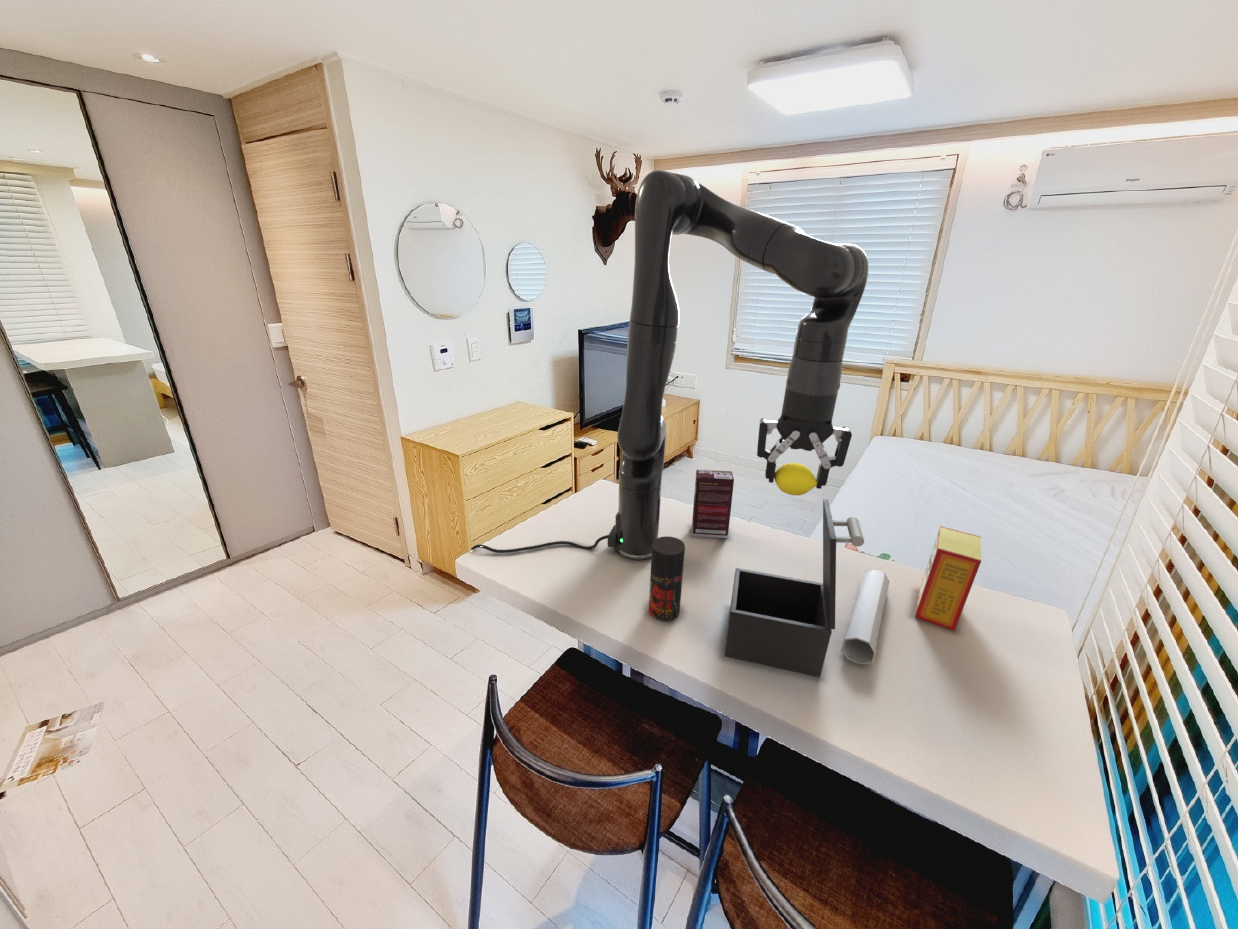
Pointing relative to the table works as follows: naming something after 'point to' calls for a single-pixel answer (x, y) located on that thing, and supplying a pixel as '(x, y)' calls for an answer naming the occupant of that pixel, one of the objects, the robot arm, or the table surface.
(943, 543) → the baking soda box
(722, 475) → the supplement box
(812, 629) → the dark grey box
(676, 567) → the deodorant
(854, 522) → the lid
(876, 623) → the tube
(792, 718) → the table surface
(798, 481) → the lemon
